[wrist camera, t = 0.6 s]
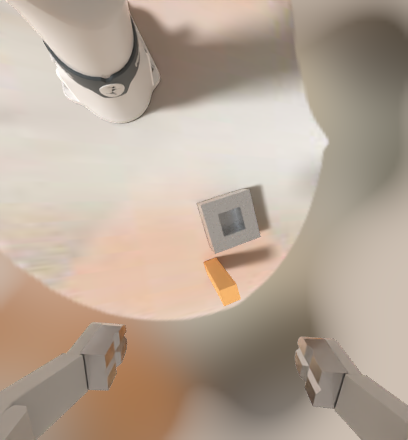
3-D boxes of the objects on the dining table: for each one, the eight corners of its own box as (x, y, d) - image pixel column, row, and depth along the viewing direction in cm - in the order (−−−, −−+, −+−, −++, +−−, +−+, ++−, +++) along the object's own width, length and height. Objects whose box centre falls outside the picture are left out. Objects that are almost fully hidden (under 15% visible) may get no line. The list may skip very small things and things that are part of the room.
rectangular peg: (203, 262, 49) (219, 290, 36) (215, 257, 50) (236, 283, 36) (207, 273, 50) (224, 306, 36) (219, 269, 50) (240, 299, 37)
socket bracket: (196, 203, 46) (200, 205, 41) (240, 188, 48) (249, 189, 43) (209, 247, 49) (215, 253, 44) (251, 232, 51) (260, 236, 46)
